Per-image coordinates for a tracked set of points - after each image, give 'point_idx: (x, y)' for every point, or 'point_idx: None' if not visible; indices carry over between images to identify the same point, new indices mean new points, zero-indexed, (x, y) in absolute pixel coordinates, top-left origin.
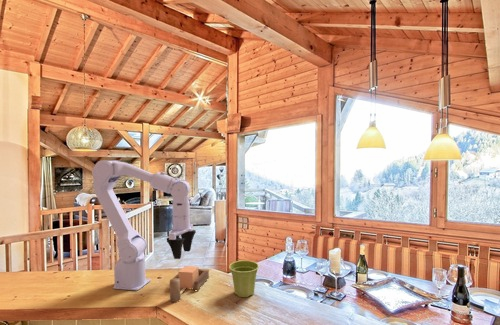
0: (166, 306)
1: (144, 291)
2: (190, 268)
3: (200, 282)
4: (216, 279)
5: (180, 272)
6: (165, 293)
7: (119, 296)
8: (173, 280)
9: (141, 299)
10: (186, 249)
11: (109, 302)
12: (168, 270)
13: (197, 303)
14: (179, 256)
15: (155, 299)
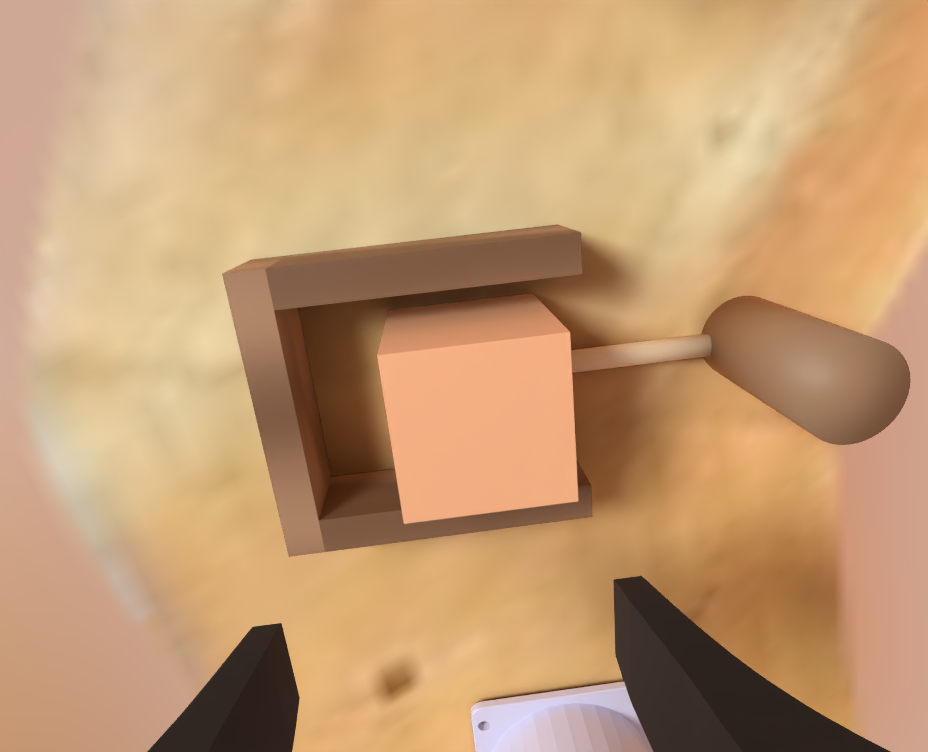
0: None
1: None
2: (456, 422)
3: (498, 237)
4: (255, 156)
5: (575, 474)
6: (647, 474)
7: None
8: (860, 403)
9: (758, 575)
10: (283, 690)
11: None
12: None
13: (777, 108)
14: (663, 602)
15: (748, 486)
